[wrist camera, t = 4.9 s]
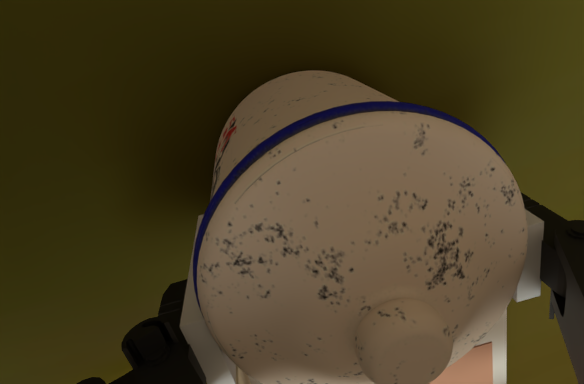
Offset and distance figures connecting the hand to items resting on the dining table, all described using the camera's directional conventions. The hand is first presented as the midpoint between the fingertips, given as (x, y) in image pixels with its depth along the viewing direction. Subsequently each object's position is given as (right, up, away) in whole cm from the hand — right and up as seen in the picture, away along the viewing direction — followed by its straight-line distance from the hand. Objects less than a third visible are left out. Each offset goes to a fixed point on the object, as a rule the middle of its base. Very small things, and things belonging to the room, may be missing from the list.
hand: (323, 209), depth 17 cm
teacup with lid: (0, +1, +2) cm, 2 cm away
